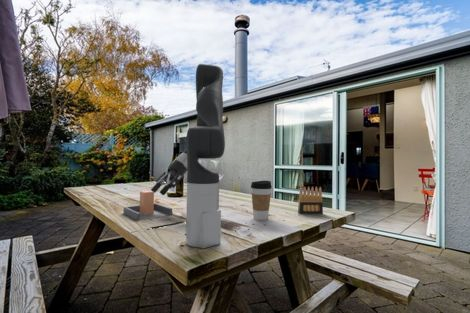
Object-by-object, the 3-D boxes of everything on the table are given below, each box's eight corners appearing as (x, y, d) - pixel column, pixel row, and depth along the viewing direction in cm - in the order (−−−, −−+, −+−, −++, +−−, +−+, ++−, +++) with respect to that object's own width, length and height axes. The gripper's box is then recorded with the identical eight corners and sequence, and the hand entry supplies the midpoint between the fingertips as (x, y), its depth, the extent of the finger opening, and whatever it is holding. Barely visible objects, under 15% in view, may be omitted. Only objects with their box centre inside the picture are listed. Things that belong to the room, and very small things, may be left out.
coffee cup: (275, 220, 98) (275, 181, 98) (256, 221, 95) (256, 182, 95) (265, 215, 106) (265, 180, 106) (246, 216, 103) (247, 180, 103)
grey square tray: (172, 217, 100) (172, 208, 100) (137, 223, 91) (137, 213, 91) (156, 210, 111) (156, 203, 111) (123, 215, 102) (123, 207, 102)
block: (153, 213, 101) (154, 191, 101) (144, 215, 99) (144, 192, 99) (149, 211, 105) (149, 190, 105) (139, 213, 102) (139, 191, 102)
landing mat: (183, 223, 92) (183, 221, 92) (152, 229, 84) (152, 227, 84) (171, 218, 98) (171, 217, 98) (141, 223, 90) (141, 222, 90)
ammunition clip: (299, 214, 109) (299, 186, 109) (297, 213, 111) (298, 186, 111) (322, 213, 110) (323, 186, 110) (321, 212, 112) (321, 186, 112)
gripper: (168, 159, 116) (144, 185, 108) (184, 159, 105) (158, 188, 98) (178, 170, 119) (155, 196, 112) (195, 171, 109) (170, 200, 101)
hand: (156, 192), depth 105 cm, fingers open, 8 cm apart
